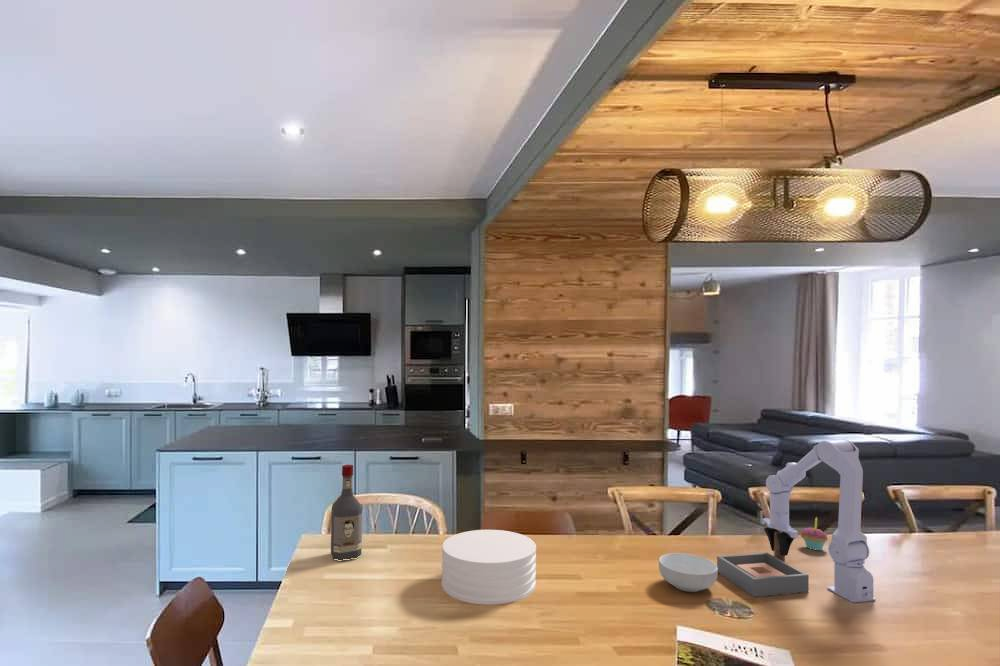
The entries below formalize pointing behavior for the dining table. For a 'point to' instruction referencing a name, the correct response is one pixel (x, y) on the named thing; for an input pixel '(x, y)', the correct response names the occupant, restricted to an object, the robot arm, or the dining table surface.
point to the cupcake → (814, 537)
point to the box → (762, 574)
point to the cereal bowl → (688, 571)
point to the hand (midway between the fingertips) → (779, 552)
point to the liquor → (346, 521)
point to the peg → (777, 547)
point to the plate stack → (488, 566)
